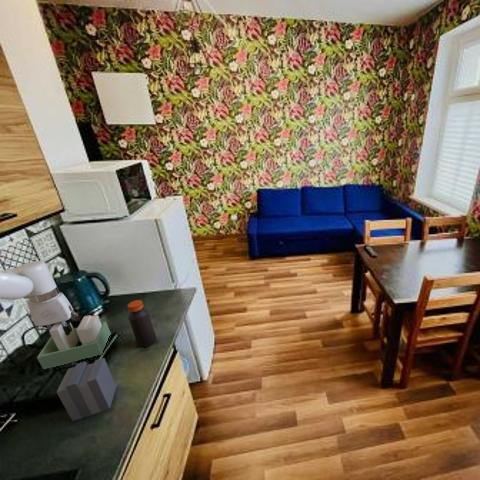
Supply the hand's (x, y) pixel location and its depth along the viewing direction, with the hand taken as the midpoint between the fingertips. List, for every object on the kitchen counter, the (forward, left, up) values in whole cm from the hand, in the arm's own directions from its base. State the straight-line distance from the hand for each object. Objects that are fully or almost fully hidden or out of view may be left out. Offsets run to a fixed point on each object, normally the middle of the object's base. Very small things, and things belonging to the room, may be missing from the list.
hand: (63, 333), depth 103 cm
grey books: (+14, -29, -10) cm, 34 cm away
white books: (+8, 0, -10) cm, 13 cm away
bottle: (+26, -5, -11) cm, 29 cm away
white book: (0, 0, -8) cm, 8 cm away
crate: (+2, 0, -10) cm, 11 cm away
